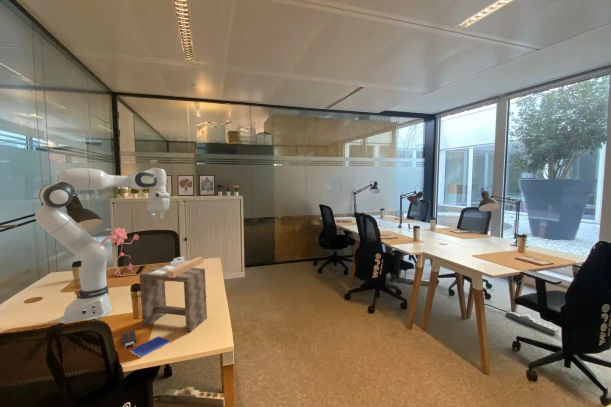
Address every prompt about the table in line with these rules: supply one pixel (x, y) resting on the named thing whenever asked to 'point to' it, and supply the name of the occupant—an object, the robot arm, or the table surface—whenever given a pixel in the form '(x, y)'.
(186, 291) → the stand
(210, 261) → the table surface
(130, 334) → the usb drive
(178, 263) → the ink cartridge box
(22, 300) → the table surface
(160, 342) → the hard drive
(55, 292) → the table surface
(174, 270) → the handle bar
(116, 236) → the pink wire sculpture
